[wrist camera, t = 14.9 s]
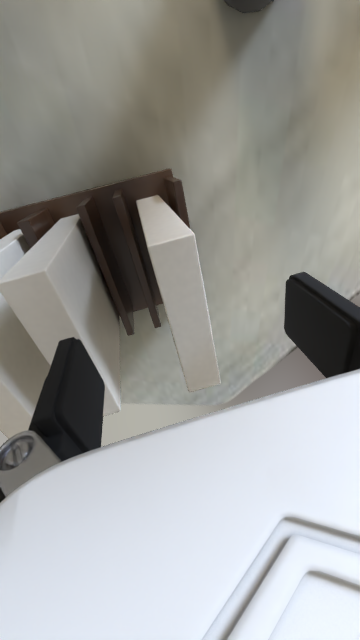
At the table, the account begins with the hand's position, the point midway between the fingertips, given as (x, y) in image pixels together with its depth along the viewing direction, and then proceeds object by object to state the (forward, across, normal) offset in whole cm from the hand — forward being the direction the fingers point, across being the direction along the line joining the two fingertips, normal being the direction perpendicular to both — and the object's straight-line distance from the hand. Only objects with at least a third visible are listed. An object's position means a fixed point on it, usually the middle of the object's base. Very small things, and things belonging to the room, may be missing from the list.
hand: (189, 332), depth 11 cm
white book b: (+15, +6, +1) cm, 16 cm away
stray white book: (+15, 0, +1) cm, 15 cm away
